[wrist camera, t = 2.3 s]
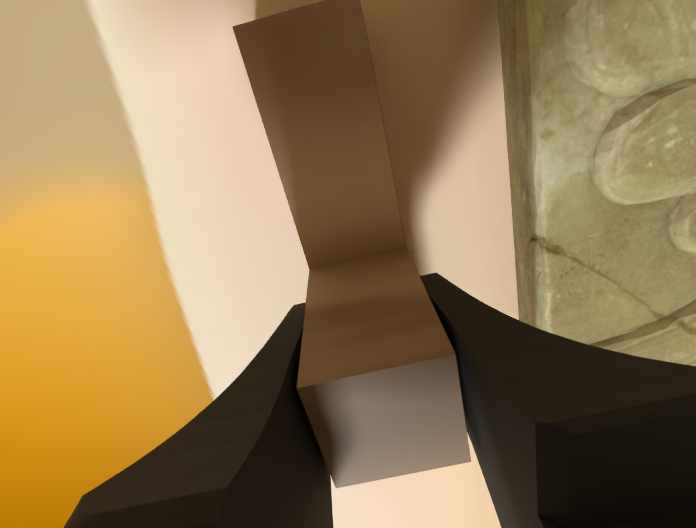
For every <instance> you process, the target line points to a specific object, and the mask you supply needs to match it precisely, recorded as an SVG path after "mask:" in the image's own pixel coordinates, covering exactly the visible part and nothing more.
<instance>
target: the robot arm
mask: <svg viewBox="0 0 696 528" xmlns="http://www.w3.org/2000/svg"><path fill="white" fill-rule="evenodd" d="M420 278H421V280H422V283H423V285H424V287H425V289H426V291H427V293H428V296H429V298H430V300H431V302H432V304H433V306H434V309H435V311H436V313H437V315H438V317H439V319H440V322H441V324H442V326H443V328H444V330H445V332H446V334H447V337H448V339H449V341H450V343H451V345H452V347H453V350H454V352H455V354H456V361H457V367H458V374H459V381H460V388H461V395H462V402H463V409H464V416H465V423H466V430H467V432H468V435H469V437H470V440H471V442H472V445H473V447H474V450H475V453H476V456H477V459H478V461H479V464H480V467H481V470H482V473H483V475H484V478H485V481H486V484H487V487H488V490H489V492H490V495H491V498H492V501H493V504H494V507H495V510H496V513H497V516H498V518H499V521H500V524H501V527H502V528H696V366H691V365H685V364H679V363H673V362H667V361H661V360H655V359H649V358H643V357H638V356H634V355H629V354H625V353H620V352H616V351H612V350H607V349H603V348H599V347H596V346H592V345H588V344H584V343H581V342H578V341H574V340H571V339H568V338H565V337H562V336H558V335H555V334H552V333H549V332H547V331H544V330H541V329H538V328H536V327H534V326H531V325H529V324H526V323H524V322H521V321H519V320H516V319H514V318H512V317H510V316H508V315H506V314H504V313H502V312H500V311H498V310H496V309H494V308H492V307H490V306H488V305H486V304H484V303H483V302H481V301H479V300H477V299H476V298H474V297H472V296H471V295H469V294H468V293H466V292H464V291H463V290H461V289H460V288H458V287H457V286H455V285H454V284H452V283H451V282H449V281H448V280H447V279H445V278H444V277H442V276H441V275H439V274H437V273H432V274H428V275H424V276H420ZM305 307H306V303H301V304H297V305H294V306H293V307H292V308H291V309H290V311H289V312H288V314H287V315H286V316H285V318H284V319H283V321H282V322H281V324H280V325H279V326H278V328H277V329H276V330H275V332H274V333H273V335H272V336H271V337H270V339H269V340H268V341H267V343H266V344H265V345H264V347H263V348H262V349H261V350H260V351H259V353H258V354H257V355H256V356H255V357H254V359H253V360H252V361H251V362H250V364H249V365H248V366H247V367H246V368H245V370H244V371H243V372H242V373H241V374H240V375H239V376H238V377H237V378H236V379H235V380H234V381H233V383H232V384H231V385H230V386H229V387H228V388H227V389H226V390H224V391H223V392H222V393H221V394H220V395H219V396H218V397H217V398H216V399H215V400H214V401H213V402H212V403H211V404H210V405H208V406H207V407H206V408H205V409H204V410H203V411H202V412H200V413H199V414H198V415H197V416H196V417H195V418H194V419H192V420H191V421H190V422H189V423H188V424H186V425H185V426H184V427H183V428H181V429H180V430H179V431H178V432H176V433H175V434H174V435H172V436H171V437H170V438H169V439H167V440H166V441H165V442H163V443H162V444H161V445H159V446H158V447H156V448H155V449H154V450H152V451H151V452H149V453H148V454H147V455H145V456H144V457H142V458H141V459H139V460H138V461H137V462H135V463H134V464H132V465H131V466H129V467H127V468H126V469H124V470H123V471H121V472H120V473H118V474H116V475H115V476H113V477H112V478H110V479H109V480H107V481H105V482H104V483H102V484H101V485H99V486H98V487H96V488H95V489H93V490H91V491H90V492H88V493H87V494H85V495H83V496H82V498H81V500H80V501H79V503H78V505H77V506H76V508H75V510H74V511H73V513H72V515H71V516H70V518H69V520H68V521H67V523H66V525H65V526H64V528H333V516H332V498H331V479H330V472H329V469H328V467H327V464H326V461H325V459H324V456H323V454H322V451H321V449H320V446H319V444H318V441H317V439H316V436H315V434H314V431H313V429H312V426H311V423H310V421H309V418H308V416H307V413H306V411H305V408H304V406H303V403H302V401H301V398H300V396H299V393H298V391H297V380H298V371H299V362H300V353H301V343H302V334H303V325H304V316H305Z"/></svg>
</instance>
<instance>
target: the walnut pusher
mask: <svg viewBox="0 0 696 528" xmlns="http://www.w3.org/2000/svg"><path fill="white" fill-rule="evenodd" d="M233 30H234V33H235V36H236V39H237V42H238V46H239V49H240V52H241V55H242V58H243V61H244V65H245V68H246V71H247V74H248V77H249V80H250V83H251V87H252V90H253V93H254V96H255V99H256V102H257V106H258V109H259V112H260V115H261V118H262V121H263V124H264V128H265V131H266V134H267V137H268V140H269V143H270V146H271V150H272V153H273V156H274V159H275V162H276V165H277V169H278V172H279V175H280V178H281V181H282V184H283V187H284V191H285V194H286V197H287V200H288V203H289V206H290V210H291V213H292V216H293V219H294V222H295V225H296V228H297V232H298V235H299V238H300V241H301V244H302V247H303V250H304V254H305V257H306V260H307V263H308V266H309V269H310V270H309V279H308V288H307V298H306V307H305V316H304V325H303V334H302V343H301V353H300V362H299V371H298V380H297V391H298V393H299V396H300V398H301V401H302V403H303V406H304V408H305V411H306V413H307V416H308V418H309V421H310V423H311V426H312V429H313V431H314V434H315V436H316V439H317V441H318V444H319V446H320V449H321V451H322V454H323V456H324V459H325V461H326V464H327V467H328V469H329V472H330V474H331V477H332V479H333V482H334V484H335V487H336V488H339V487H344V486H350V485H355V484H360V483H365V482H370V481H375V480H380V479H385V478H390V477H395V476H400V475H405V474H411V473H416V472H421V471H426V470H431V469H436V468H441V467H446V466H451V465H456V464H461V463H467V462H471V458H470V451H469V444H468V437H467V430H466V423H465V416H464V409H463V402H462V395H461V388H460V381H459V374H458V367H457V361H456V354H455V352H454V350H453V347H452V345H451V343H450V341H449V339H448V337H447V334H446V332H445V330H444V328H443V326H442V324H441V322H440V319H439V317H438V315H437V313H436V311H435V309H434V306H433V304H432V302H431V300H430V298H429V296H428V293H427V291H426V289H425V287H424V285H423V283H422V280H421V278H420V276H419V274H418V272H417V270H416V267H415V265H414V263H413V261H412V259H411V257H410V254H409V252H408V250H407V248H406V244H405V239H404V233H403V228H402V223H401V217H400V212H399V207H398V201H397V196H396V191H395V185H394V180H393V174H392V169H391V164H390V158H389V153H388V148H387V142H386V137H385V132H384V126H383V121H382V116H381V110H380V105H379V100H378V94H377V89H376V83H375V78H374V73H373V67H372V62H371V57H370V51H369V46H368V41H367V35H366V30H365V25H364V19H363V14H362V9H361V3H360V0H326V1H322V2H319V3H315V4H312V5H308V6H304V7H301V8H297V9H294V10H290V11H287V12H283V13H279V14H276V15H272V16H269V17H265V18H261V19H258V20H254V21H251V22H247V23H244V24H240V25H236V26H233Z"/></svg>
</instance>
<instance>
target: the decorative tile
mask: <svg viewBox="0 0 696 528" xmlns="http://www.w3.org/2000/svg"><path fill="white" fill-rule="evenodd" d="M498 17H499V26H500V41H501V55H502V73H503V86H504V100H505V115H506V130H507V146H508V160H509V173H510V188H511V203H512V218H513V232H514V246H515V263H516V279H517V295H518V309H519V321H521V322H524V323H526V324H529V325H531V326H534V327H536V328H538V329H541V330H544V331H547V332H549V333H552V334H555V335H558V336H562V337H565V338H568V339H571V340H574V341H578V342H581V343H584V344H588V345H592V346H596V347H599V348H603V349H607V350H612V351H616V352H620V353H625V354H629V355H634V356H638V357H643V358H649V359H655V360H661V361H667V362H673V363H679V364H685V365H691V366H696V0H498Z"/></svg>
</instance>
